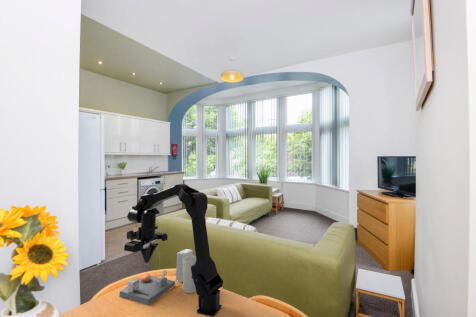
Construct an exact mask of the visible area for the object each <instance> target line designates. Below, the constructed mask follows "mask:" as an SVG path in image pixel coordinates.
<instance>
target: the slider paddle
mask: <svg viewBox="0 0 476 317" xmlns="http://www.w3.org/2000/svg"><path fill="white" fill-rule="evenodd" d="M139 280H140V279H139V278H131V279H130V280H128V281H127V287H128V288H127V291H128V292H131V293H133V292H135V291H136V290H138V289H139Z"/></svg>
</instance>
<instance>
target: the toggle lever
mask: <svg viewBox="0 0 476 317" xmlns="http://www.w3.org/2000/svg"><path fill="white" fill-rule="evenodd" d="M167 274H168V271H167V270H166V269H164V270H162V274H161V277H160V278H161V279H160V280H159V281H161V284H163V283H164V278H165V277H166V275H167Z"/></svg>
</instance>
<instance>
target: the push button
mask: <svg viewBox="0 0 476 317" xmlns="http://www.w3.org/2000/svg"><path fill="white" fill-rule="evenodd" d="M150 276H151V274H143V275H142V276H141V279H142V282H148V281H150Z"/></svg>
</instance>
